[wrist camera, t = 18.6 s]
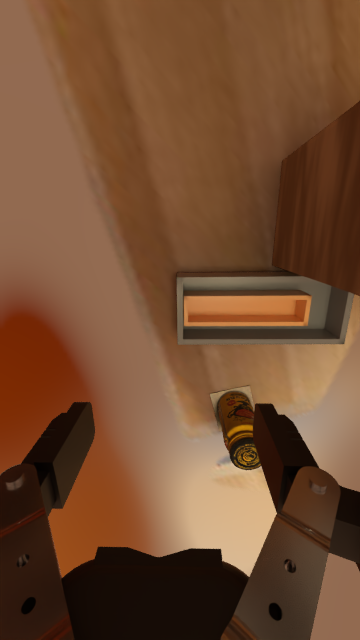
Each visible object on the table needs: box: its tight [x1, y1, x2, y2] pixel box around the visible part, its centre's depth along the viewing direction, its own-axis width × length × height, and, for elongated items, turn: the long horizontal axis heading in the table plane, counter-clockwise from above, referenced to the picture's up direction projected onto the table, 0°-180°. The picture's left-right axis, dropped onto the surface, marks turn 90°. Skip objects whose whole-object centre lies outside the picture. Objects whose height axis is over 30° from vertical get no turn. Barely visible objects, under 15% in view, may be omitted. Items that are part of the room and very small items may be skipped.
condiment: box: [210, 386, 261, 470], centre depth 42 cm, size 7×8×12 cm
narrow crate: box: [184, 290, 312, 326], centre depth 39 cm, size 18×4×4 cm, turn 91°
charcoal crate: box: [177, 271, 354, 344], centre depth 39 cm, size 24×10×5 cm, turn 91°
